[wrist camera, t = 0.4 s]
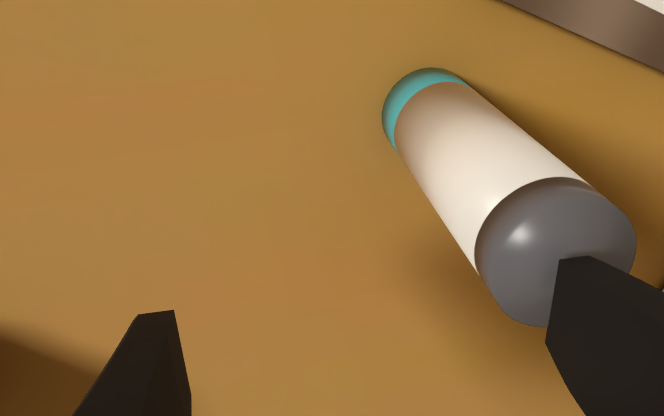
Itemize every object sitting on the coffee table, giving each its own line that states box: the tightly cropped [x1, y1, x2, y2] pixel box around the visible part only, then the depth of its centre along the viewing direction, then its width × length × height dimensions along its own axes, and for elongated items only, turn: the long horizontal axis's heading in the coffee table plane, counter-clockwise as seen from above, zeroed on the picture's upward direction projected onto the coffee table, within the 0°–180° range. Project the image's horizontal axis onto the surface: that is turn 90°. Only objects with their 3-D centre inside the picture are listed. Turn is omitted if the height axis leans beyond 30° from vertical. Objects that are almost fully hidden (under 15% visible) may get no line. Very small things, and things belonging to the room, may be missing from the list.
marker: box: [382, 68, 637, 327], centre depth 16 cm, size 3×3×9 cm
